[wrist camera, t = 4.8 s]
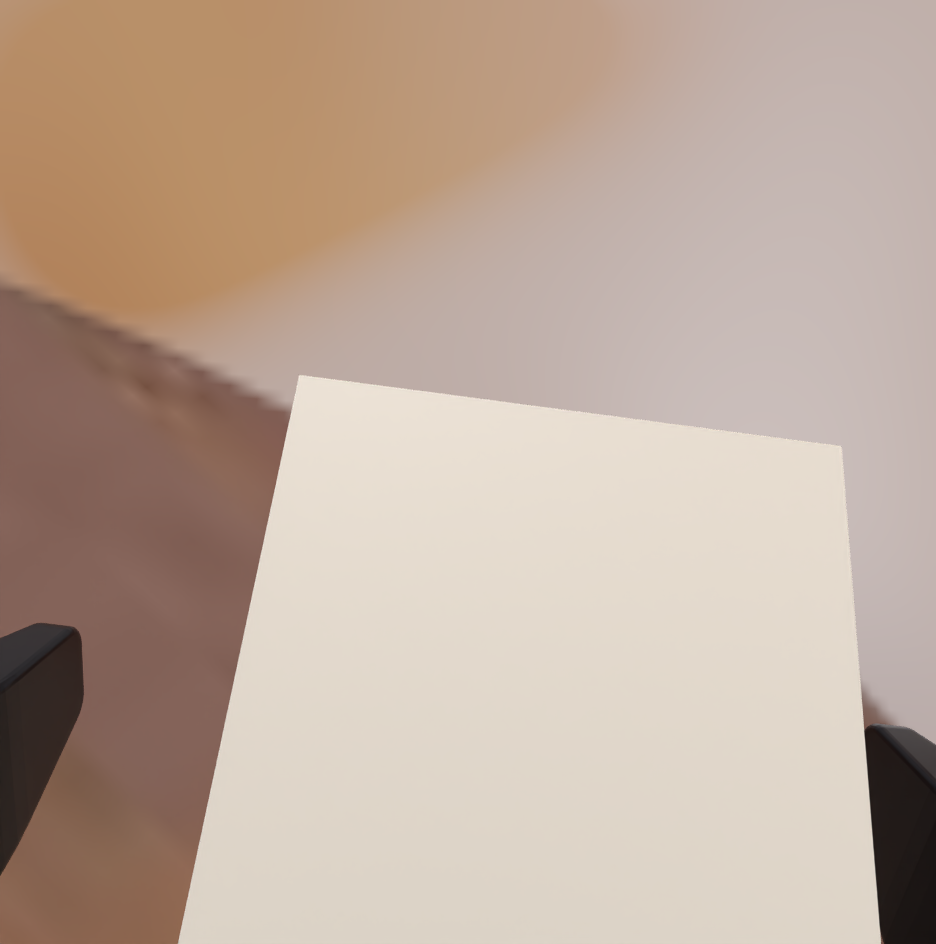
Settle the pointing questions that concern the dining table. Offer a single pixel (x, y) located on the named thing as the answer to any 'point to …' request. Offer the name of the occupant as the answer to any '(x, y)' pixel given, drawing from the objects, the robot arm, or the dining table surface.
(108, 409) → the dining table surface
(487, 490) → the tall cream box
